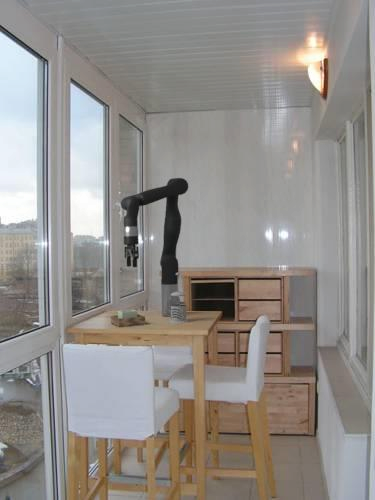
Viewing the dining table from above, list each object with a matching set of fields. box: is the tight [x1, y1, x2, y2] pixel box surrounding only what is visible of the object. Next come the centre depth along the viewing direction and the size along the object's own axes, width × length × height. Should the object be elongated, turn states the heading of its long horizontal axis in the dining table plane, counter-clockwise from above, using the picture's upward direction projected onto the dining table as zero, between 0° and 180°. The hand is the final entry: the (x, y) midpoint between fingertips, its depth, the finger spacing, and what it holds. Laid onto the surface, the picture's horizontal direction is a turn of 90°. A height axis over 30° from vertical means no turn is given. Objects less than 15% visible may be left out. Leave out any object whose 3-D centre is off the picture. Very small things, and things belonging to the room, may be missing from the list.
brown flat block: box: [110, 313, 146, 328], centre depth 274 cm, size 13×12×4 cm
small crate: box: [117, 309, 138, 319], centre depth 273 cm, size 8×6×6 cm
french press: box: [165, 271, 189, 324], centre depth 278 cm, size 10×12×25 cm
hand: (131, 266), depth 283 cm, fingers open, 8 cm apart
